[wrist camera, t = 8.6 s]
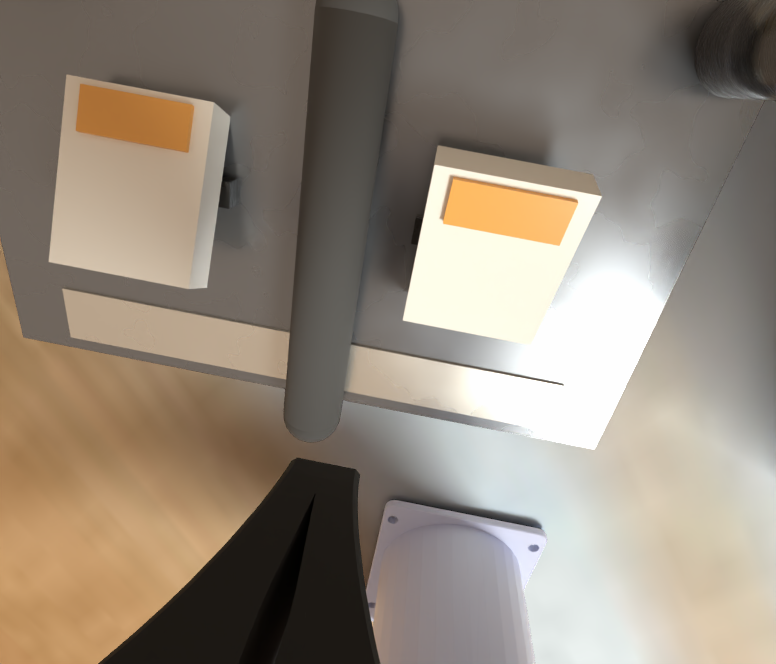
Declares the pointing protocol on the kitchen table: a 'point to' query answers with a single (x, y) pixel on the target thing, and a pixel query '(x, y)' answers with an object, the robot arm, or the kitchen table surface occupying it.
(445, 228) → the paddle
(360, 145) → the dark grey rod
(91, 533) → the kitchen table surface
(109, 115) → the paddle
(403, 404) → the panel
